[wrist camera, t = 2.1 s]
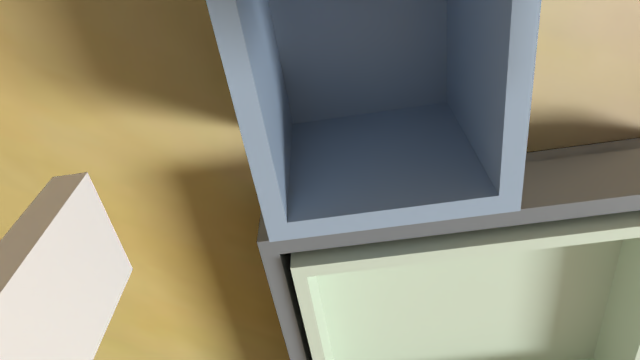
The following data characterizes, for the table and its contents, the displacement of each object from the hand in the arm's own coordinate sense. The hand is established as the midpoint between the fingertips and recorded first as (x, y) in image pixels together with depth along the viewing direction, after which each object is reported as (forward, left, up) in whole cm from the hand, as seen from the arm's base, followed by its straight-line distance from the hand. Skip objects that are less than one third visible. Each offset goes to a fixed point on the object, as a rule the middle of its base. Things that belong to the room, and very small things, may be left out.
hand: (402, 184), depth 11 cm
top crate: (+15, +4, -11) cm, 19 cm away
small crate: (0, 0, -11) cm, 11 cm away
